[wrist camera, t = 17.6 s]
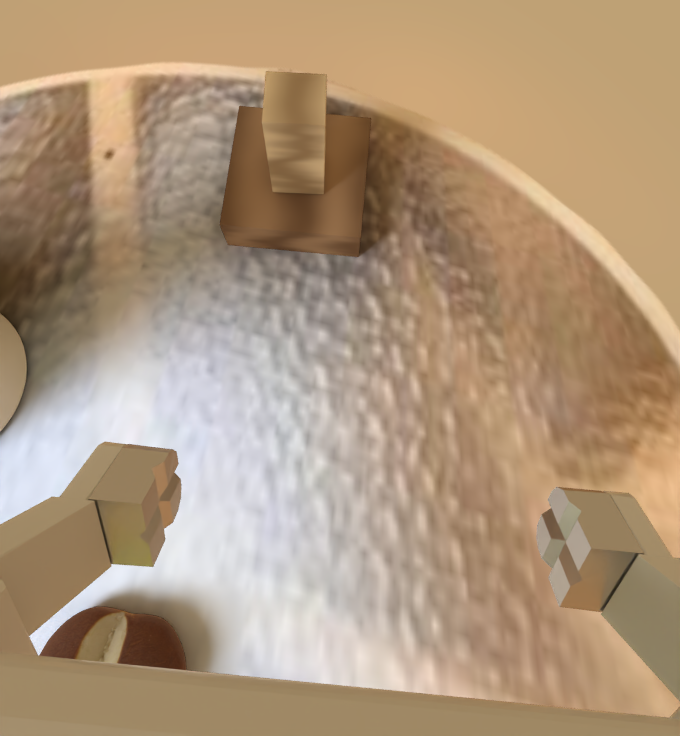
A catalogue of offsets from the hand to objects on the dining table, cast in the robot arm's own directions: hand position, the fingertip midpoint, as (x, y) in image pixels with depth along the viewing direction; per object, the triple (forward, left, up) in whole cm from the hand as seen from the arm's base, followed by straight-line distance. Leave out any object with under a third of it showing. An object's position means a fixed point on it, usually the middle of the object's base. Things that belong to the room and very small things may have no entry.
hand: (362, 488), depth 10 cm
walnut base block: (-6, +26, -30) cm, 40 cm away
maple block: (-6, +26, -26) cm, 37 cm away
